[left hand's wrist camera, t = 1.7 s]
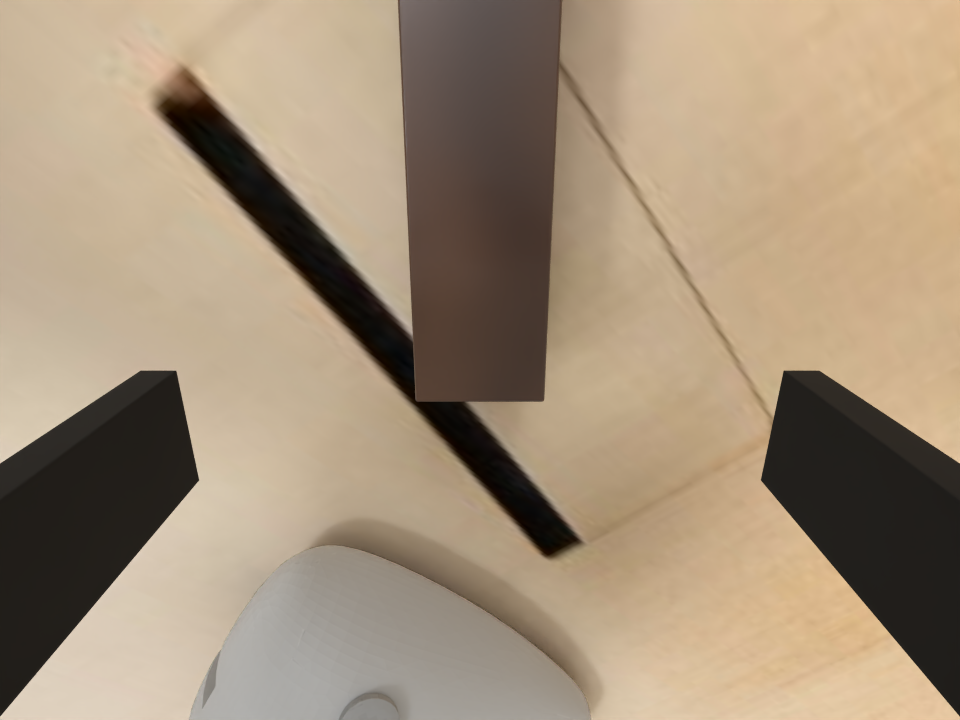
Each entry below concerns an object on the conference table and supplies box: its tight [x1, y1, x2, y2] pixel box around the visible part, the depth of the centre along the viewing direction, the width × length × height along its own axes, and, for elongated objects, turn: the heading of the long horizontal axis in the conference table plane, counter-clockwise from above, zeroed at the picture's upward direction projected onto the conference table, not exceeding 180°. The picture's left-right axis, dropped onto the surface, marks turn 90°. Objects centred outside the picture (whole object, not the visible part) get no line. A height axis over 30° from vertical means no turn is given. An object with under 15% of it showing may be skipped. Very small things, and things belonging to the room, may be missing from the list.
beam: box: [398, 0, 562, 402], centre depth 21 cm, size 5×26×8 cm, turn 0°
